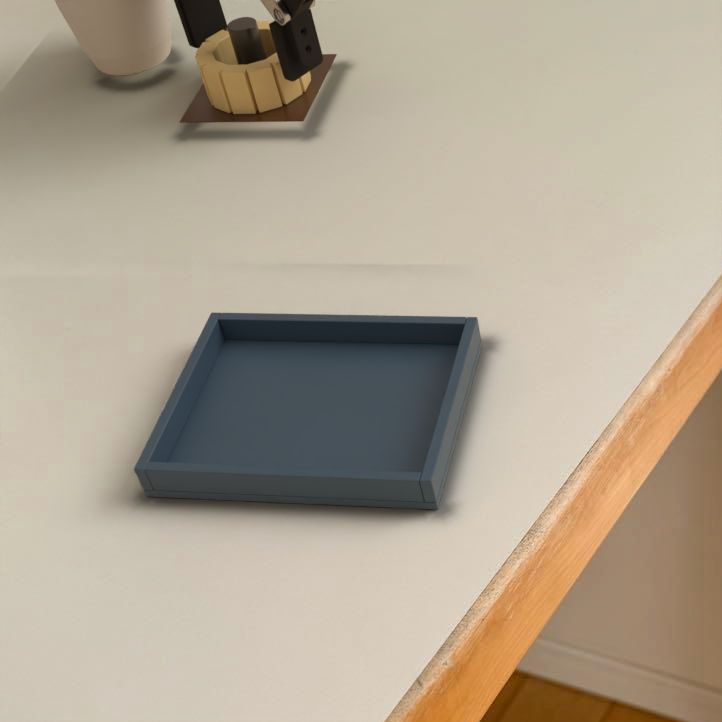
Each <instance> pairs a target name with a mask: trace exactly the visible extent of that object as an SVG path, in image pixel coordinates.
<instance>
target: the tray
mask: <svg viewBox="0 0 722 722" xmlns="http://www.w3.org/2000/svg"><path fill="white" fill-rule="evenodd" d="M482 348H483V341H482V336H481V330H480V325H479V319H478V317H477V316H439V315H438V316H436V315H384V314H383V315H382V314H381V315H378V314H375V315H374V314H325V313H324V314H323V313H321V314H320V313H319V314H318V313H317V314H316V313H266V312H263V313H261V312H211V313H210V314H209V316H208V318H207V321H206V323H205V324H204V327H203V329H202V331H201V333H200V334H199V336H198V338H197V341H196V342H195V344H194V346H193V348H192V350H191V352H190V354H189V357H188V358H187V361H186V362H185V365H184V367H183V368H182V371H181V373H180V375H179V376H178V378H177V381H176V383H175V385H174V386H173V390H172V391H171V393H170V395H169V397H168V399H167V401H166V403H165V405H164V407H163V409H162V411H161V412H160V415H159V417H158V419H157V421H156V423H155V426H154V427H153V429H152V431H151V433H150V435H149V437H148V439H147V441H146V444H145V445H144V447H143V449H142V451H141V454H140V455H139V457H138V460H137V462H136V463H135V465H134V468H133V471H134V473H135V475H136V477H137V479H138V481H139V483H140V485H141V488H142V489H143V492H144V494H145V496H146V497H149V498H167V499H168V498H169V499H170V498H172V499H193V500H195V499H196V500H217V501H219V500H220V501H237V502H260V503H261V502H262V503H281V504H304V505H305V504H307V505H326V506H327V505H328V506H350V507H351V506H352V507H370V508H373V507H374V508H394V509H395V508H396V509H415V510H416V509H417V510H418V509H419V510H439V507H440V503H441V499H442V495H443V492H444V488H445V485H446V481H447V477H448V473H449V470H450V467H451V466H450V465H451V462H452V458H453V455H454V451H455V448H456V444H457V440H458V436H459V433H460V429H461V426H462V421H463V419H464V415H465V414H464V413H465V411H466V407H467V403H468V400H469V395H470V392H471V389H472V385H473V380H474V377H475V374H476V370H477V366H478V364H479V359H480V356H481V352H482Z"/></svg>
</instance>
